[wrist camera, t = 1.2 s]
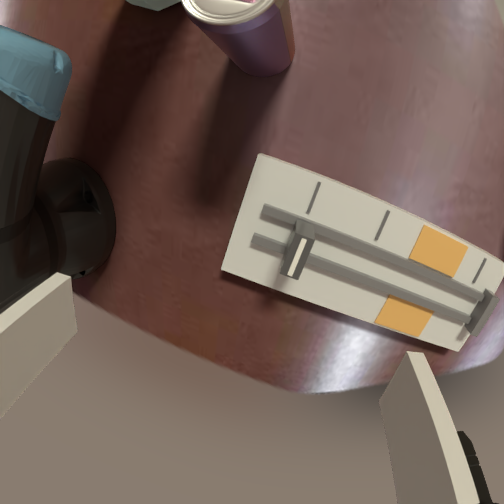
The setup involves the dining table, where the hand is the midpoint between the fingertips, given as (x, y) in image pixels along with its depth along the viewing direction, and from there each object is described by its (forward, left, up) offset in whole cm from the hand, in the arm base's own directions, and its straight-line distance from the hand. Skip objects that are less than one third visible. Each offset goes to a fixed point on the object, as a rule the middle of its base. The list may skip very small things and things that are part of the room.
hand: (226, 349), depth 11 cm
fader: (+3, -1, -20) cm, 20 cm away
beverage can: (-6, +15, -22) cm, 27 cm away
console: (+12, -1, -22) cm, 25 cm away
